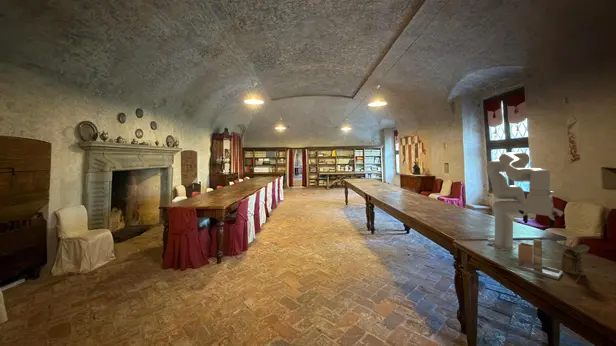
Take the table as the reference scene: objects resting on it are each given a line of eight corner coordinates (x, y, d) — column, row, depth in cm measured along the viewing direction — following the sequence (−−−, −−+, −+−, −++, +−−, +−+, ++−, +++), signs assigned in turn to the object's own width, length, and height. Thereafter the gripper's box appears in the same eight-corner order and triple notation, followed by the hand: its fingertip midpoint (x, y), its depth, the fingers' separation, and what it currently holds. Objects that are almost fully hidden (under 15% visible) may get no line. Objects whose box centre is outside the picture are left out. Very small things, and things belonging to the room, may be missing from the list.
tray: (515, 268, 125) (515, 264, 125) (521, 264, 130) (521, 260, 130) (558, 281, 111) (558, 276, 111) (562, 275, 117) (562, 270, 117)
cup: (518, 261, 133) (518, 244, 133) (521, 259, 137) (521, 242, 136) (532, 265, 128) (532, 247, 128) (535, 262, 131) (535, 245, 131)
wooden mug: (570, 278, 114) (570, 242, 113) (555, 266, 126) (555, 234, 125) (595, 281, 110) (596, 245, 109) (578, 269, 122) (578, 236, 121)
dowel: (534, 268, 123) (534, 238, 123) (543, 270, 120) (542, 240, 120) (533, 269, 121) (532, 240, 121) (541, 271, 119) (541, 241, 118)
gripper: (565, 193, 114) (564, 227, 115) (519, 190, 128) (519, 220, 129) (562, 195, 110) (560, 230, 111) (515, 191, 124) (514, 222, 125)
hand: (538, 224), depth 120 cm, fingers open, 9 cm apart
